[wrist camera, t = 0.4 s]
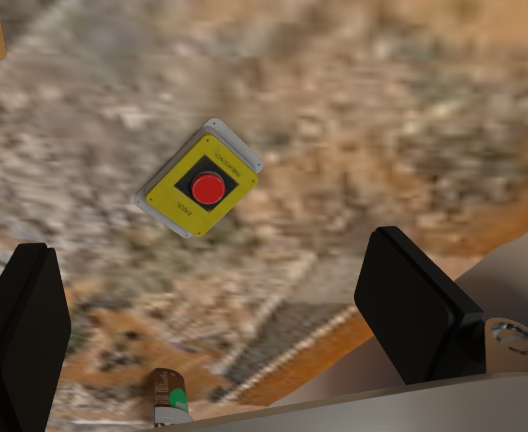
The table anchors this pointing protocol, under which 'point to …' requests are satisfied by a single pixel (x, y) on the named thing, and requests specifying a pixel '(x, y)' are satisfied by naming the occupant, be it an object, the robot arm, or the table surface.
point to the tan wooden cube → (2, 44)
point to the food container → (170, 399)
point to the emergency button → (201, 181)
